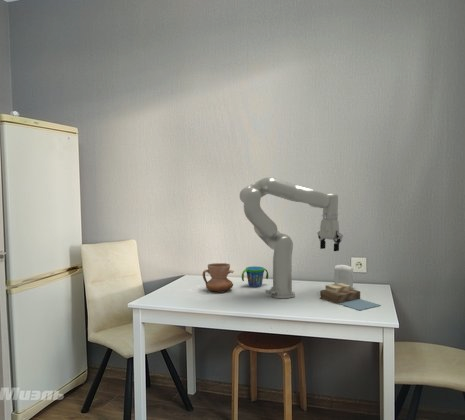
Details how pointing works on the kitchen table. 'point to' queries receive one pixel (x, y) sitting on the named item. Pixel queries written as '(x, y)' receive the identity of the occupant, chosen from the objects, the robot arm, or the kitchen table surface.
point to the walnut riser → (340, 296)
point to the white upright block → (343, 275)
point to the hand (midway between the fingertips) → (329, 249)
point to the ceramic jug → (218, 277)
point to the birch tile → (337, 288)
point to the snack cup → (254, 275)
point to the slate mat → (359, 304)
